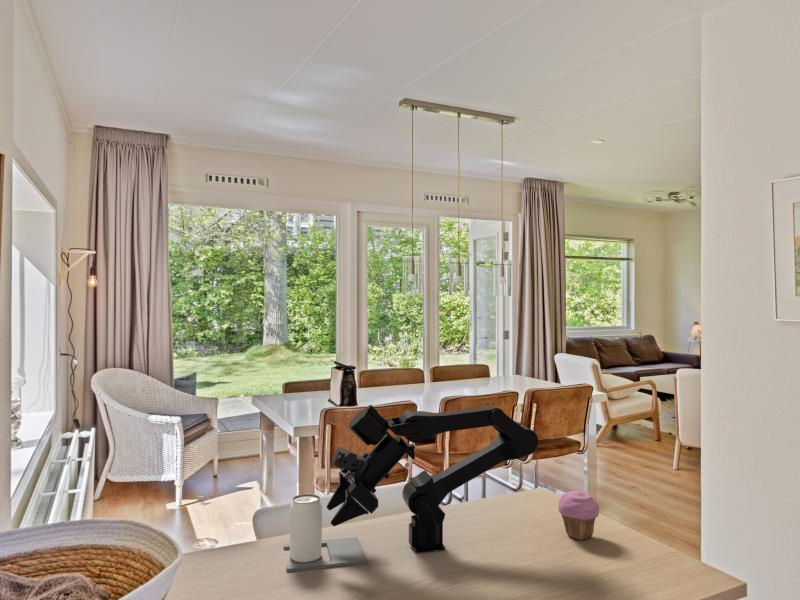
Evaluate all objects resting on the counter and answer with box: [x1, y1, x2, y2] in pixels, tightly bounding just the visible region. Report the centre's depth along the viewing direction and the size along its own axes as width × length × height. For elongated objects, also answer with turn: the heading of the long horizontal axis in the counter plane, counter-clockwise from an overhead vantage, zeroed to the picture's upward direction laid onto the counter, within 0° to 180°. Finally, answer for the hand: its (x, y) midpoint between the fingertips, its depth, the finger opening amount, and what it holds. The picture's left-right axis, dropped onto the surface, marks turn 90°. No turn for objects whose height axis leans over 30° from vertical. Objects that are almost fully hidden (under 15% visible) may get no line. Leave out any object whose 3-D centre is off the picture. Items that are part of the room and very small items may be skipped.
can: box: [289, 493, 323, 564], centre depth 116 cm, size 6×6×12 cm
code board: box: [283, 536, 369, 573], centre depth 117 cm, size 16×12×1 cm
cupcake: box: [558, 490, 600, 541], centre depth 127 cm, size 9×9×10 cm
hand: (329, 516), depth 117 cm, fingers open, 9 cm apart
